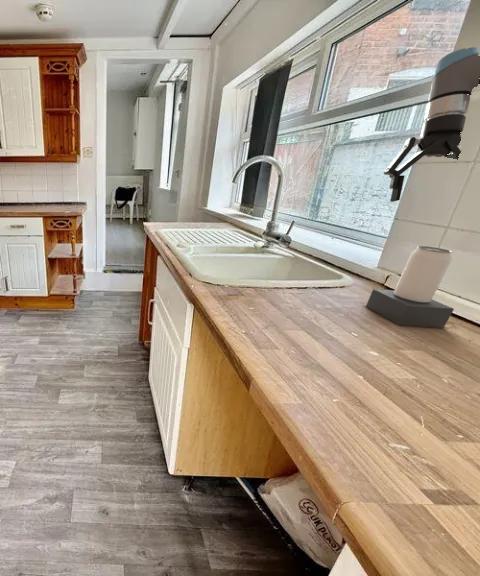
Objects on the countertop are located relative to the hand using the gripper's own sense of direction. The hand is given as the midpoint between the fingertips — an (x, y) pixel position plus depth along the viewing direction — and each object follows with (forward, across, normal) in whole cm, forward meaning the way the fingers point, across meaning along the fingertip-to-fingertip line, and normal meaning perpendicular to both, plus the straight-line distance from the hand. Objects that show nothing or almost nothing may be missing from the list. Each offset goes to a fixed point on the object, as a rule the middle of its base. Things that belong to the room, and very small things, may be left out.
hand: (425, 202), depth 83 cm
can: (+26, +7, +16) cm, 31 cm away
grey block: (+30, +8, +15) cm, 35 cm away
